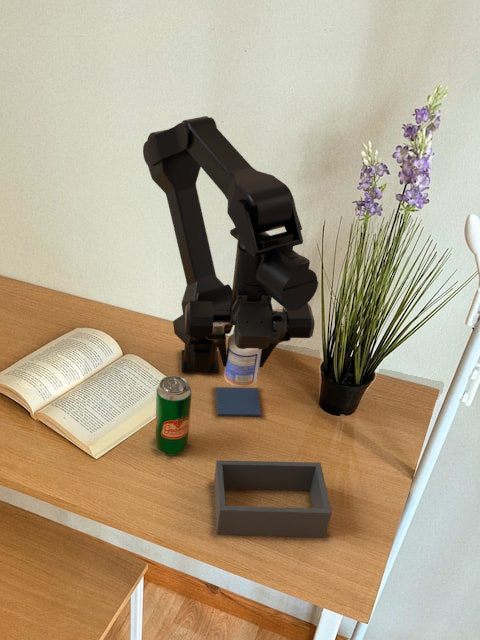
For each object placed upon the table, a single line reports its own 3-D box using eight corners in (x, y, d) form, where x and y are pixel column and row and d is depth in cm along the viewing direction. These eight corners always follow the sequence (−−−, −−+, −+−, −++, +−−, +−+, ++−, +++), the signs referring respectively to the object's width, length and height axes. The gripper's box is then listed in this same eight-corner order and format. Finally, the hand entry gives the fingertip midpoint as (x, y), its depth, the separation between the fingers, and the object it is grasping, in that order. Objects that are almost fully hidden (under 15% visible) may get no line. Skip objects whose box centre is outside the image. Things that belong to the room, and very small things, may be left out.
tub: (213, 484, 102) (216, 460, 98) (314, 487, 101) (320, 462, 98) (216, 534, 95) (219, 510, 92) (324, 537, 94) (331, 513, 91)
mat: (215, 389, 118) (216, 387, 117) (257, 390, 117) (257, 388, 117) (217, 416, 113) (218, 413, 113) (261, 416, 113) (261, 414, 112)
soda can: (161, 460, 106) (162, 398, 97) (151, 439, 109) (152, 377, 101) (192, 453, 107) (196, 391, 98) (181, 432, 110) (185, 371, 102)
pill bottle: (235, 363, 114) (241, 312, 107) (264, 376, 112) (272, 324, 105) (217, 379, 111) (222, 328, 104) (246, 392, 109) (253, 340, 102)
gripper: (189, 305, 94) (183, 396, 105) (329, 307, 93) (308, 398, 104) (188, 264, 101) (182, 353, 113) (317, 265, 100) (299, 355, 112)
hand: (242, 365), depth 110 cm, fingers closed on pill bottle, 5 cm apart
